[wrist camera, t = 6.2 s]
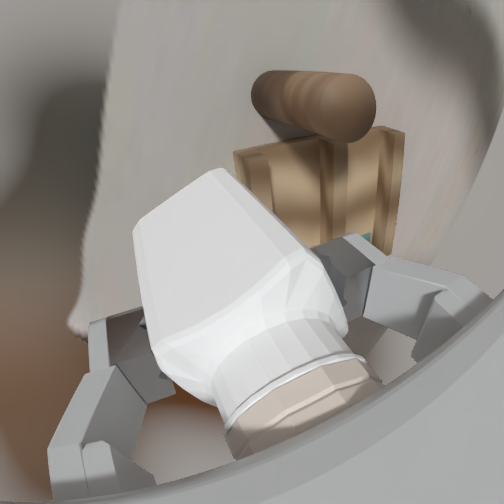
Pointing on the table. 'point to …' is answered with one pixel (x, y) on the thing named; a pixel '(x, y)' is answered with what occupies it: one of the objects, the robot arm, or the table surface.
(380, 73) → the table surface
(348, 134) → the dowel
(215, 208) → the pepper shaker
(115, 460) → the robot arm
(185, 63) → the table surface
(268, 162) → the rack
